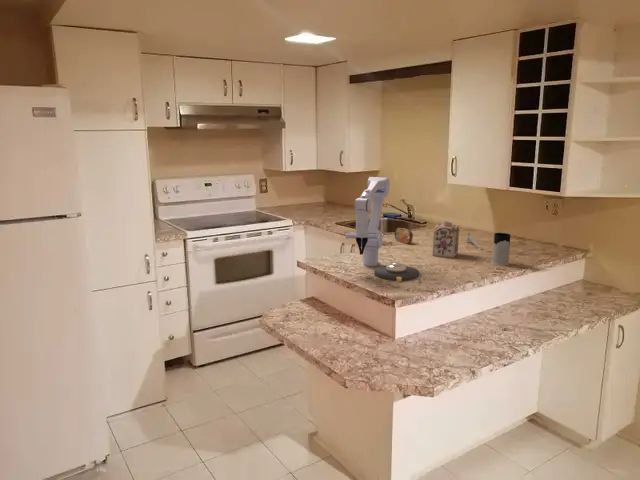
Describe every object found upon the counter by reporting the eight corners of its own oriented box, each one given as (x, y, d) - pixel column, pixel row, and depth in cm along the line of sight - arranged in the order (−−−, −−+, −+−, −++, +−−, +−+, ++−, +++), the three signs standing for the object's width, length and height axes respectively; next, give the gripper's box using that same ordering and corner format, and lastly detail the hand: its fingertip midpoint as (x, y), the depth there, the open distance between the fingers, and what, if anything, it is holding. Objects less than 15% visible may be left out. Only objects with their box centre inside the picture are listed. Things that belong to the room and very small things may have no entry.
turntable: (373, 267, 233) (373, 264, 233) (416, 268, 232) (416, 265, 231) (375, 281, 211) (375, 277, 211) (422, 282, 210) (423, 279, 210)
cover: (385, 267, 227) (385, 260, 226) (404, 268, 226) (405, 261, 226) (386, 273, 218) (386, 265, 217) (407, 273, 218) (407, 266, 217)
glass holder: (494, 265, 243) (496, 236, 240) (484, 258, 257) (487, 230, 254) (511, 266, 243) (514, 236, 240) (501, 259, 257) (504, 230, 254)
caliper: (465, 242, 297) (466, 232, 296) (467, 242, 297) (468, 232, 296) (480, 250, 277) (481, 239, 276) (482, 250, 277) (483, 239, 276)
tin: (393, 240, 301) (394, 226, 300) (398, 239, 303) (398, 226, 301) (409, 245, 288) (409, 230, 286) (413, 244, 290) (414, 230, 288)
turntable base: (371, 269, 234) (371, 267, 234) (417, 270, 233) (417, 268, 233) (373, 283, 213) (373, 280, 212) (424, 284, 211) (424, 281, 211)
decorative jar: (458, 253, 268) (460, 221, 264) (454, 258, 257) (456, 224, 254) (436, 251, 273) (437, 219, 269) (431, 255, 262) (433, 222, 259)
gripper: (345, 226, 218) (345, 255, 221) (378, 226, 218) (377, 256, 220) (346, 223, 225) (345, 252, 228) (377, 223, 224) (377, 252, 227)
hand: (361, 254), depth 225 cm, fingers closed
